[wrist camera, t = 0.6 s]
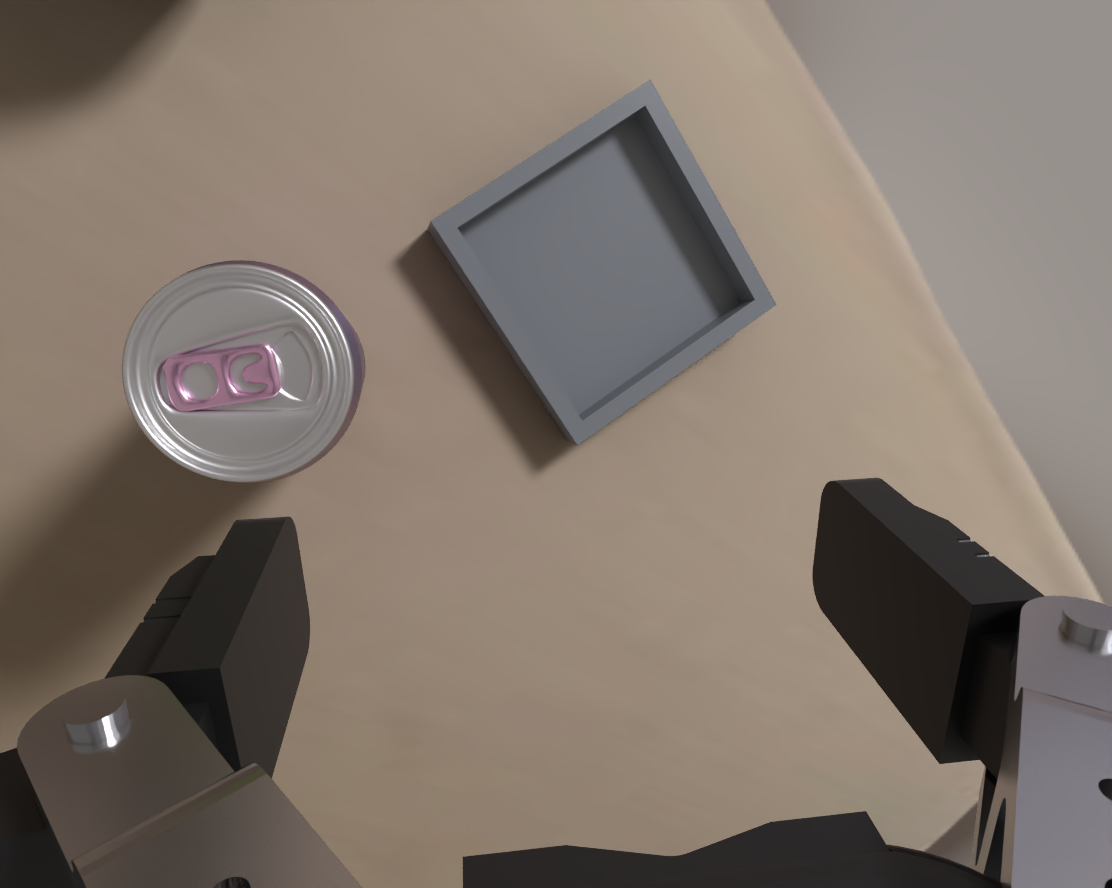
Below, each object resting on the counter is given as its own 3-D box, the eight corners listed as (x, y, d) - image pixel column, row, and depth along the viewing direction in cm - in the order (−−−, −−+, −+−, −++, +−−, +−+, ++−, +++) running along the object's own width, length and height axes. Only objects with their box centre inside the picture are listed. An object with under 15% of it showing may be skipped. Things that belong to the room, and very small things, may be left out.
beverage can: (209, 306, 34) (86, 271, 19) (351, 287, 35) (337, 241, 20) (238, 443, 34) (141, 510, 20) (376, 420, 36) (380, 467, 21)
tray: (427, 228, 35) (430, 221, 33) (634, 94, 37) (650, 79, 35) (566, 440, 38) (577, 445, 36) (755, 307, 39) (776, 304, 37)
